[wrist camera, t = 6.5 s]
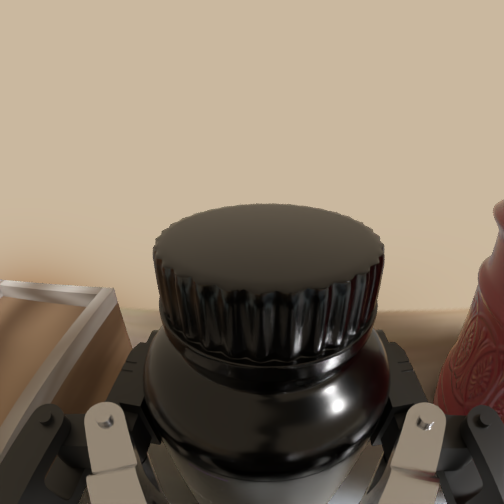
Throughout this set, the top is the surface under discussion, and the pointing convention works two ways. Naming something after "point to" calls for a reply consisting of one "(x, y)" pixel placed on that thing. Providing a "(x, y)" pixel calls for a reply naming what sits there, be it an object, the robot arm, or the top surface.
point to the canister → (479, 342)
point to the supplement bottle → (267, 351)
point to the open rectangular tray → (56, 350)
